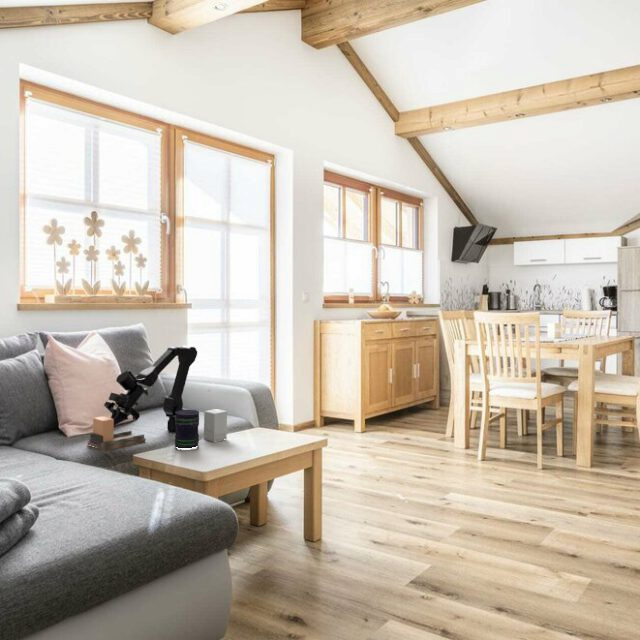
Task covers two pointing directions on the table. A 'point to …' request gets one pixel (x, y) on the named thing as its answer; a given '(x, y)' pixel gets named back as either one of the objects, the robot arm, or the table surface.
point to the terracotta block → (104, 427)
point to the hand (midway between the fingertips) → (109, 426)
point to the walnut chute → (115, 440)
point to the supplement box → (215, 425)
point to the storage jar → (186, 428)
